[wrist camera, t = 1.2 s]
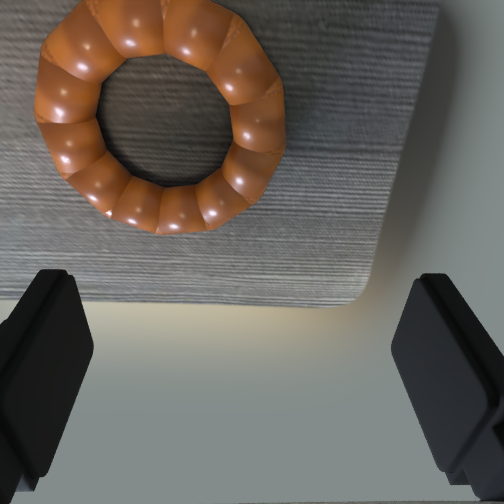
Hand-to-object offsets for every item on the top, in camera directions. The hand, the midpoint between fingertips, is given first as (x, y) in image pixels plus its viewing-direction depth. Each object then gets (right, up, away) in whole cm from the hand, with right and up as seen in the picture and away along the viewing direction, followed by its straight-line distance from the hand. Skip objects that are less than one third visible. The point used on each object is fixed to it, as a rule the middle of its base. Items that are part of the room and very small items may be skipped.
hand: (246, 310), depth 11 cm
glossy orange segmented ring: (-4, +8, +10) cm, 13 cm away
